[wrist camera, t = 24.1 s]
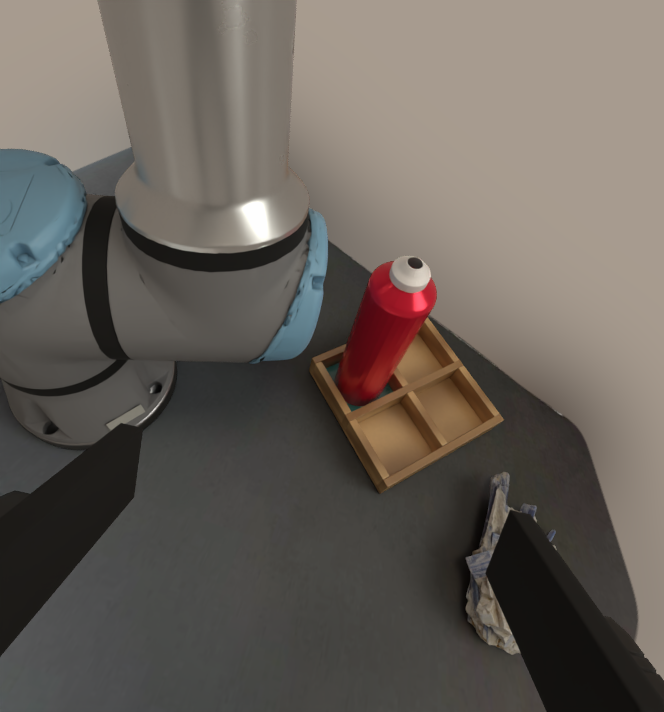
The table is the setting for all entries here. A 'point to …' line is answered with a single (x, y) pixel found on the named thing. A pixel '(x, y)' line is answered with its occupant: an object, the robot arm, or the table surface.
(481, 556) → the crumpled cloth bundle
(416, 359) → the wooden divided tray
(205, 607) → the table surface
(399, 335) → the bottle
